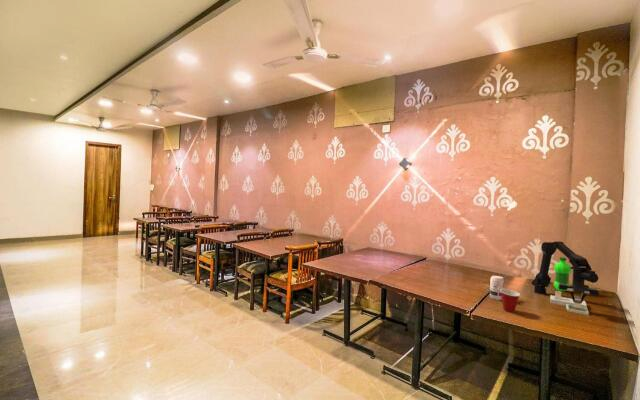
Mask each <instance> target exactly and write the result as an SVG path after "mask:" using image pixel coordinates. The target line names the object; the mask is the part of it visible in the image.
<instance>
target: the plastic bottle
mask: <svg viewBox="0 0 640 400" xmlns="http://www.w3.org/2000/svg"><path fill="white" fill-rule="evenodd" d="M558 258H559V261H558V262H557V263H555V264H554V266H553V270H554V271H555V281H554V282H553V286H554V288H555V289H556V291H560V292H564V293H565V292H566V291H567V290H561V289H559V283H563V284H567V286H571V285H570V284H569V280H570V274H571V273H572V269H570V267H571V266H570V265H569V264H568V263H567V259H568V258H567V257H566V256H564V257H563V256H560V257H558ZM567 292H568V291H567Z"/></svg>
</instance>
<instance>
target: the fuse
mask: <svg viewBox="0 0 640 400" xmlns="http://www.w3.org/2000/svg"><path fill="white" fill-rule="evenodd" d="M554 296H555V299H560V300H561V297H562V291H559V290H555V294H554Z"/></svg>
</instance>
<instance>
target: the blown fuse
mask: <svg viewBox="0 0 640 400" xmlns="http://www.w3.org/2000/svg"><path fill="white" fill-rule="evenodd" d="M573 309H575V310H580V311H582V309H581V296H578V295H577V296H576V295H574V308H573Z"/></svg>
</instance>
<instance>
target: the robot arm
mask: <svg viewBox="0 0 640 400" xmlns="http://www.w3.org/2000/svg"><path fill="white" fill-rule="evenodd" d="M540 247H541V248H540V249H541V252H542V258H541V263H540V268H539V271H538V273H537V274H536V275H535V277H534V279H533V280H532V281H531V285H532V286H534V289H533V290H534V291H533V293H534V294H537V295H544V296H545V295H546V296H547V288H548V287H549V285H550V284H551V279H552V277H550V275H549V271H550V266H551V262H552V257H553V255H554V254H556V252H557V250H559V252H561V253H562V254H563V255H564V257H565V258H567V259H568V262H569V263H570V265H571V266H570V269H571V270H572V278H571V279H572V281H571V284H572V285H570V286H567V284H563V283H559V289H561V290H567V293H569V295H570V296H571V299H573V302H574V296H575V293H579V294H580V293H581V295H580V297H581V303H582V302H583V301H585V300H584V299H586V297H587V296H589V295H590V294H591V295H592V296H599V295H600V291H599V289H597V288H594V287H590V286H589V285H588V284H585V281H586V282H589V283H593V284H595V283H597V282H598V280H599V279H600V278H599V276H598V274H597V273H596V271H595V270H593V269H592V267H591V265H590V264H589V263H590V262H589V261H588V260H587V258H586V257H583V256H582V255H579V254H577V253H575V252H574V251H573V250H572V249H571V248H569V246H567V245H566V244H565V242H563V241H558V240H555V241H543V242H542V243H541V246H540ZM546 287H547V288H546ZM574 292H575V293H574Z"/></svg>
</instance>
